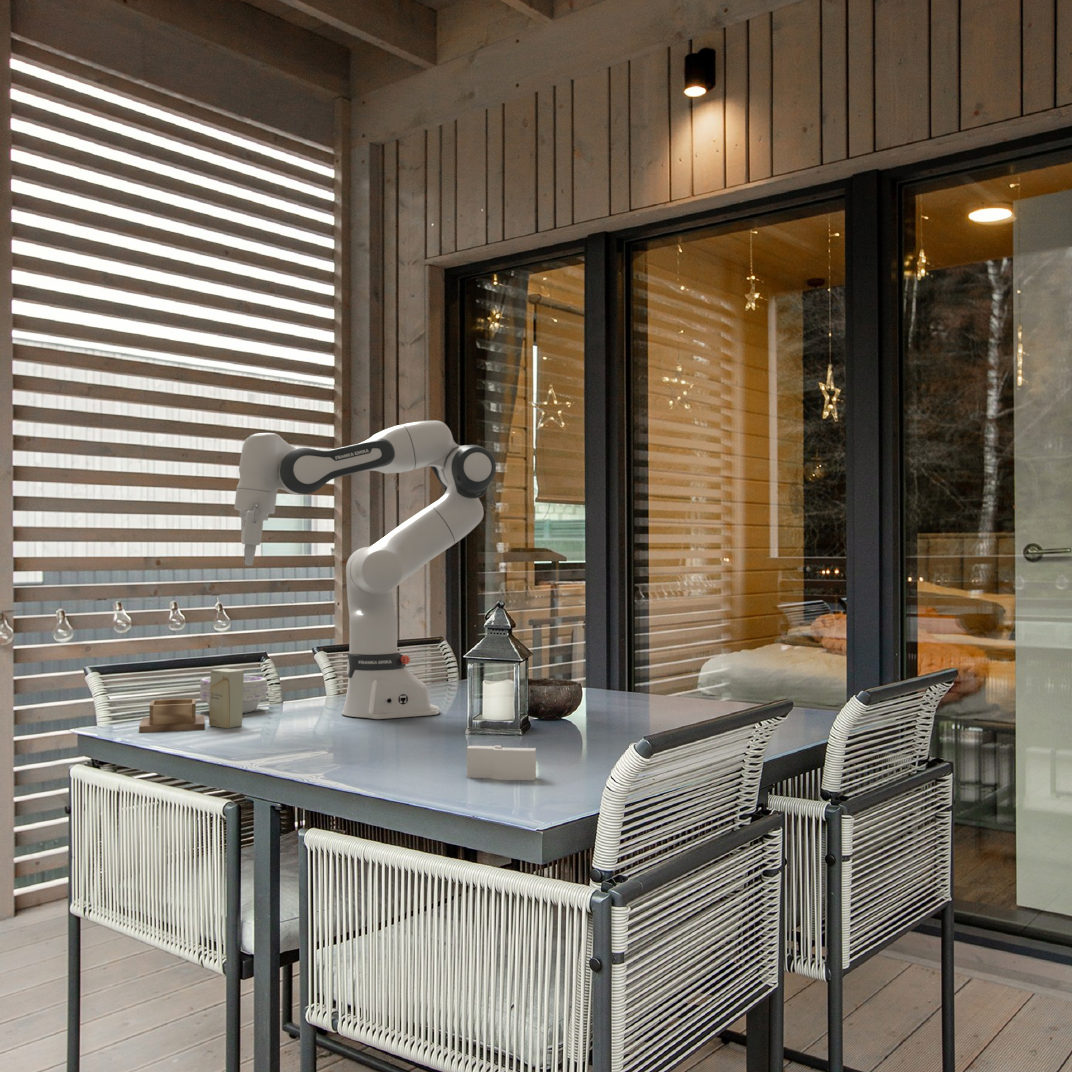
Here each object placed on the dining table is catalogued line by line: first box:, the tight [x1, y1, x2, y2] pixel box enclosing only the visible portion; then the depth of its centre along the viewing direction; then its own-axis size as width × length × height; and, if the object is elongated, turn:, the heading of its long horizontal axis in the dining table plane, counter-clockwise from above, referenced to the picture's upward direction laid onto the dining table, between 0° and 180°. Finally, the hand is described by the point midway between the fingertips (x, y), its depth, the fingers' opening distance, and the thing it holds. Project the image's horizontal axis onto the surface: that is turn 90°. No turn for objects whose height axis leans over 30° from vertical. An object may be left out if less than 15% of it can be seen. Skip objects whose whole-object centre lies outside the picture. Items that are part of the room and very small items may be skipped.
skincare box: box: [208, 668, 245, 729], centre depth 229 cm, size 6×4×12 cm
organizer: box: [138, 698, 206, 733], centre depth 228 cm, size 13×13×5 cm
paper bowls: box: [199, 675, 268, 714], centre depth 251 cm, size 15×15×8 cm
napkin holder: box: [466, 745, 537, 781], centre depth 177 cm, size 15×11×6 cm
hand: (247, 565), depth 236 cm, fingers open, 8 cm apart
